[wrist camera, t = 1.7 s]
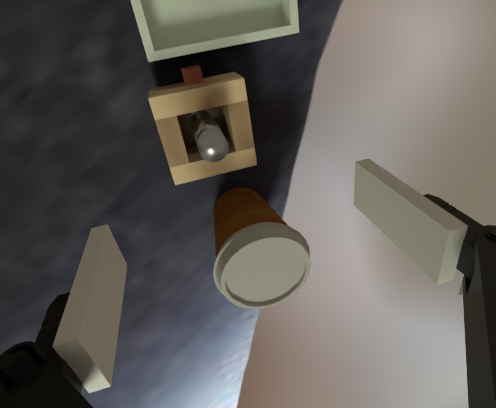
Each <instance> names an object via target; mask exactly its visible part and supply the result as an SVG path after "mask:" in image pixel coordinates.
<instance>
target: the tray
mask: <svg viewBox="0 0 496 408" xmlns="http://www.w3.org/2000/svg"><path fill="white" fill-rule="evenodd" d="M131 4H132V7H133V11H134V14H135V17H136V21H137V24H138V28H139V31H140V34H141V38H142V41H143V45H144V48H145V51H146V55H147V58H148V62H152V61H157V60H162V59H167V58H172V57H178V56H183V55H188V54H193V53H198V52H203V51H208V50H213V49H218V48H223V47H228V46H234V45H239V44H244V43H249V42H254V41H259V40H264V39H269V38H274V37H279V36H284V35H290V34H295V33H299V23H298V6H297V0H131Z"/></svg>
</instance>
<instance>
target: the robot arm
mask: <svg viewBox="0 0 496 408" xmlns="http://www.w3.org/2000/svg"><path fill="white" fill-rule="evenodd" d="M354 205H355V206H356V207H357V208H358V209H359V210H360V211H361V212H362V213H363V214H364V215H365V216H366V217H367V218H368V219H369V220H370V221H371V222H373V223H374V224H375V225H376V226H377V227H378V228H379V229H380V230H381V231H382V232H383V233H384V234H385V235H386V236H387V237H388V238H389V239H390V240H391V241H392V242H393V243H394V244H395V245H396V246H397V247H398V248H400V250H402V251H403V252H404V253H405V254H406V255H407V256H408V257H409V258H410V259H411V260H412V261H413V262H414V263H415V264H416V265H417V266H418V267H419V268H420V269H422V271H423V272H424V273H425V274H426V275H427V276H429V277H430V278H431V279H432V280H433V281H434V282H435V283H436V284H441V283H444V282H447V281H451V280H454V277H455V273H456V269H458V270H459V271H460V272H462V273H463V274H464V277H463V281H462V284H461V288H460V291H459V294H460V295H462V293H463V304H464V323H465V343H466V363H467V383H468V401H469V402H468V403H469V408H496V226H492V225H487V226H483V225H481V224H479V223H478V222H476V221H475V220H473V219H472V218H470V217H468V216H467V215H465V214H464V213H462V212H461V211H459V210H457V209H456V208H454V207H453V206H452V205H449V204H448V203H447V202H445V201H444V200H442V199H441V198H438V197H435V196H433V195H430V194H426V195H422V194H420V193H419V192H417V191H416V190H414V189H413V188H411V187H410V186H408V185H407V184H405V183H404V182H402V181H401V180H399V179H398V178H396V177H395V176H393V175H392V174H391V173H389V172H388V171H386V170H385V169H383V168H382V167H380V166H379V165H377V164H375V163H374V162H373V161H371V160H370V159H365V160H361V161H357V162H355V193H354ZM126 271H127V264H126V262H125V260H124V258H123V256H122V254H121V252H120V250H119V247H118V245H117V243H116V241H115V239H114V237H113V235H112V233H111V231H110V229H109V226H108V224H107V225H103V226H99V227H95V228H91V231H90V234H89V237H88V240H87V243H86V246H85V250H84V253H83V256H82V259H81V262H80V265H79V268H78V271H77V274H76V277H75V280H74V283H73V286H72V289H71V292H69V293H65V294H62V295H58V296H57V297H56V299H55V300H54V301H53V302H52V304H51V305H50V306H49V308H48V311H47V313H46V316H45V320H44V321H43V323H42V326H41V327H42V329H40V331H39V334H38V336H37V339H36V341H35V343H34V342H32V341H28V342H22V343H19V344H16V345H14V346H13V347H11V348H9V349H8V350H6V351H5V352H4V353H3V354H2V355H1V356H0V389H1V390H0V408H93V407H92V406H91V405H90V404H89V403H88V401H87V400H86V399H85V398H84V397H83V396H82V395H81V394H80V393H81V389H82V385H83V386H84V387H85V389H86V390H87V391H88V392H89V393H91V392H95V391H98V390H101V389H104V388H107V387H111V382H112V375H113V367H114V360H115V352H116V345H117V338H118V330H119V323H120V316H121V308H122V301H123V293H124V286H125V279H126Z"/></svg>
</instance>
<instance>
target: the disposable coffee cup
mask: <svg viewBox="0 0 496 408" xmlns="http://www.w3.org/2000/svg"><path fill="white" fill-rule="evenodd" d="M214 229H215V248H216V259H215V263H214V268H213V277H214V281H215V284H216V286H217V288H218V289H219V290H220V292H221V293H222V294H223V295H225V296H226V298H227V299H228V300H229V301H230V302H231V303H233V304H235V305H237V306H239V307H242V308H246V309H262V308H269V307H272V306H275V305H278V304H280V303H282V302H284V301H286V300H287V299H289V298H290V297H292V296H293V295H294V294H295V293H297V291H298V290H299V289H300V288H301V287H302V286H303V284H304V283H305V281H306V279H307V277H308V275H309V271H310V251H309V246H308V244H307V242H306V240H305V239H304V237H303V236H302V235H301V234H300V233H299V232H298V231H296V230H294V229H293V228H291V227H289V226H288V225H287V224H286V223H285V222H284V221H283V220H282V219H281V217H280V216H279V215H278V214H277V213H276V212H275V211H274V210H273V209H272V208H271V207H270V206H269V205H268V204H267V203H266V201H265V200H264V199H263V198H262V197H261V196H260V195H259V194H258V193H257V192H255V191H254V190H252V189H249V188H234V189H231V190H229V191H227V192H225V193H224V194H223V195H221V196H220V198H219V199H218V200H217V202H216V204H215V206H214Z"/></svg>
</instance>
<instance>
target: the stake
mask: <svg viewBox="0 0 496 408" xmlns="http://www.w3.org/2000/svg"><path fill="white" fill-rule="evenodd" d="M177 117H178V121H179V124H180V128H181V132H182V135H183V139H184V143H185V146H186V148H189V147H194V146H197V148H198V151H199V154H200V156H201V157H202V158H203V159H204V160H206V161H208V162H218V161H220V160H222V159H223V158H224V157H225V156H226V155H227V153H228V149H229V146H228V142H227V140H226V139H228V136H227V131H226V126H225V121H224V115H223V110H222V106H218V107H213V108H209V109H204V110H200V111H195V112H191V113H186V114H182V115H177Z"/></svg>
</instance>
